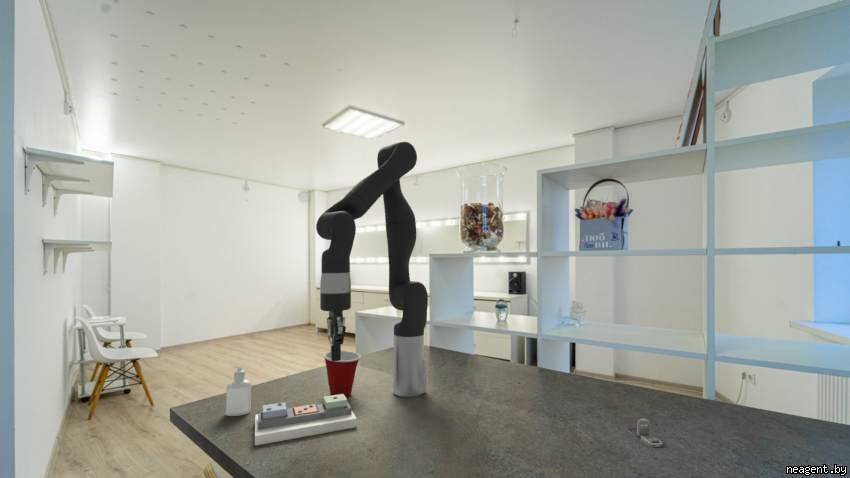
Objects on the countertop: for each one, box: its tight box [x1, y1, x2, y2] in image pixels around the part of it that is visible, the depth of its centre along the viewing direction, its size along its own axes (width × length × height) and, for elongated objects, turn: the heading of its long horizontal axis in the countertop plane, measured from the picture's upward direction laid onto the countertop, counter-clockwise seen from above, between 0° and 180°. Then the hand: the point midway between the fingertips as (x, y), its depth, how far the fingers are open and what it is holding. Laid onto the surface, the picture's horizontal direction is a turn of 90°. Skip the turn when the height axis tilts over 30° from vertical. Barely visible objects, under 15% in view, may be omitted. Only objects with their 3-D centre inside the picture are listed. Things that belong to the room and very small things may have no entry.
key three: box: [293, 403, 318, 416], centre depth 89 cm, size 5×4×2 cm
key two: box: [262, 401, 288, 419], centre depth 87 cm, size 5×4×2 cm
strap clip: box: [626, 418, 664, 448], centre depth 84 cm, size 8×3×4 cm, turn 6°
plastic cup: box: [323, 350, 362, 399], centre depth 109 cm, size 11×11×12 cm
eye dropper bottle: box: [225, 365, 252, 417], centre depth 96 cm, size 4×6×12 cm
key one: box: [322, 394, 348, 409], centre depth 92 cm, size 5×4×2 cm
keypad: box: [254, 401, 358, 446], centre depth 89 cm, size 22×12×4 cm, turn 114°
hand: (335, 360), depth 93 cm, fingers closed
